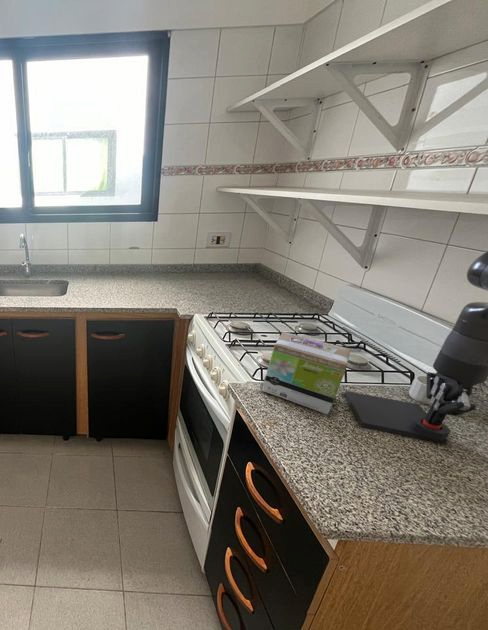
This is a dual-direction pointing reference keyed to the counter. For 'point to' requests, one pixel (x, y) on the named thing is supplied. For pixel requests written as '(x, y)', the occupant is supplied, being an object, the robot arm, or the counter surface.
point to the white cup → (419, 389)
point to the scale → (394, 417)
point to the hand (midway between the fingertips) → (431, 422)
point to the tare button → (431, 425)
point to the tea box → (306, 371)
